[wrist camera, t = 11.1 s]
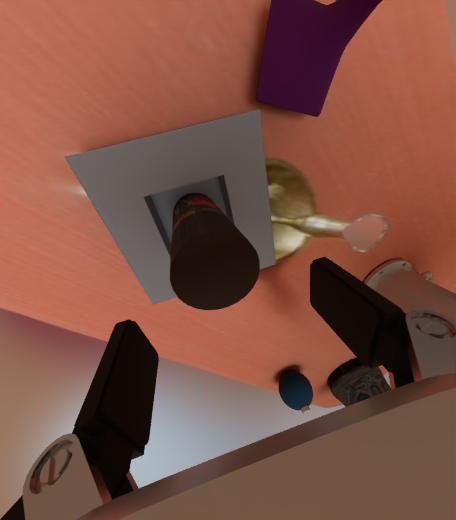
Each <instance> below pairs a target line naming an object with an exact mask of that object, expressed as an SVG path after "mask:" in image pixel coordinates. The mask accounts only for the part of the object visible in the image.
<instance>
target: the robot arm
mask: <svg viewBox="0 0 456 520" xmlns="http://www.w3.org/2000/svg"><path fill="white" fill-rule="evenodd" d="M432 276H433V274H432V273H431V272H429V271H427V272H424V273H421V274H419V273H417V272H415V271H413V268H412V265H411V264H410V263H409V262H407V261H405V260H402V259H395V260H391V261H388V262H386V263H384V264H382V265H380V266H379V267H377V268H376V269H375V270H374V271H373V272H372V273H371V274H370V275H369V276H368V277H367V278H366V279H365V281H364V282H362V281H360V280H359V279H357V278H356V277H354V276H353V275H351V274H350V273H348V272H347V271H345V270H344V269H343V268H341V267H340V266H338V265H337V264H335V263H334V262H332V261H331V260H329V259H328V258H326V257H322V258H319V259H316V260H314V261H313V263H312V264H311V265H310V303H311V305H312V307H313V308H314V309H315V310H316V311H317V313H318V314H319V315H320V316H321V317H322V318H323V319H324V320H325V322H326V323H327V324H328V325H329V326H330V327H331V328H332V329H333V331H334V332H335V333H336V334H337V335H338V336H339V337H340V339H341V340H342V341H343V342H344V343H345V344H346V345H347V346H348V348H349V349H350V350H351V351H352V352H353V353H354V354H355V355H356V357H357V358H358V359H359V360H360V361H361V362H363V363H366V364H367V365H368V366H369V367H370V368H371V369H373V368H375V367H378V366H381V365H383V366H384V367H385V368H386V370H387V371H388V373H389V379H390V385H391V390H390V391H387V392H385V393H382V394H379V395H376V396H373V397H371V398H368V399H366V400H363V401H360V402H358V403H355V404H353V405H350V406H347V407H345V408H342V409H340V410H337V411H334V412H332V413H329V414H327V415H324V416H321V417H319V418H316V419H313V420H311V421H308V422H306V423H303V424H301V425H298V426H296V427H293V428H290V429H288V430H285V431H283V432H280V433H278V434H275V435H272V436H270V437H267V438H265V439H262V440H260V441H257V442H255V443H252V444H249V445H247V446H244V447H242V448H239V449H237V450H234V451H231V452H229V453H226V454H224V455H221V456H219V457H216V458H214V459H211V460H209V461H206V462H204V463H201V464H199V465H196V466H194V467H191V468H189V469H186V470H183V471H181V472H178V473H176V474H174V475H171V476H168V477H166V478H163V479H161V480H159V481H156V482H154V483H151V484H149V485H147V486H144V487H142V488H138V486H137V484H136V483H135V481H134V479H133V477H132V475H131V473H130V471H129V469H130V463H131V460H132V459H134V458H137V457H139V456H142V455H144V448H145V445H146V444H147V443H148V440H149V435H150V427H151V419H152V410H153V402H154V393H155V385H156V377H157V369H158V359H159V358H158V353H157V352H156V350H155V349H154V347H153V346H152V344H151V343H150V342H149V340H148V339H147V337H146V336H145V334H144V333H143V332H142V330H141V329H140V327H139V326H138V324H137V323H136V322H135V321H131V320H126V321H122V322H119V323H117V324H116V325H115V327H114V329H113V332H112V334H111V337H110V339H109V342H108V344H107V347H106V349H105V351H104V354H103V356H102V359H101V361H100V364H99V366H98V369H97V371H96V374H95V376H94V379H93V381H92V383H91V386H90V388H89V391H88V394H87V396H86V398H85V401H84V403H83V405H82V408H81V410H80V413H79V415H78V418H77V420H76V423H75V425H74V426H75V428H74V430H73V432H72V434H66V435H63V436H61V437H60V438H58V439H56V440H55V441H54V442H53V443H51V444H50V445H49V446H48V447H47V448H46V449H45V450H44V452H43V453H42V454H41V455H40V456H39V457H38V459H37V460H36V462H35V463H34V464H33V466H32V468H31V469H30V471H29V473H28V475H27V477H26V480H25V483H24V486H23V495H22V496H21V497H20V498H19V500H18V501H17V502H16V503H15V504H14V505H13V506H12V507H11V508H10V509H9V511H8V512H7V513H6V514H5V515H4V516H3V517H2V518H1V519H0V520H456V294H455V293H453V292H451V291H449V290H447V289H445V288H443V287H441V286H439V285H437V284H435V281H434V280H433V279H432V278H430V277H432Z"/></svg>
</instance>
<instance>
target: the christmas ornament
mask: <svg viewBox="0 0 456 520" xmlns="http://www.w3.org/2000/svg"><path fill="white" fill-rule="evenodd" d="M279 393H280V396H281V398H282V400H283V401H284V403H285V404H286V405H287V406H289V407H290V408H292V409H295V410H301V411H302V413H303V414H304V415H305V414H308V413H309V412H310V409H309V407H308V406H309V405H310V404H311V402H312V398H313V390H312V386H311V384H310V382H309V380H308V379H307V378H306V377H305V376H304V375H303V374H301V373H299V372H297V371H288V372H286V373H284V374H283V375H282V377H281V378H280V381H279Z"/></svg>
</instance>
